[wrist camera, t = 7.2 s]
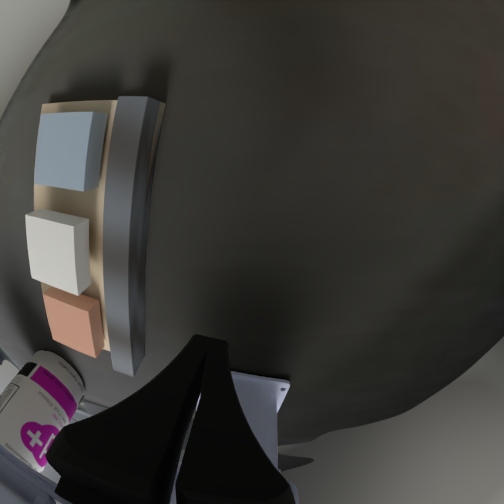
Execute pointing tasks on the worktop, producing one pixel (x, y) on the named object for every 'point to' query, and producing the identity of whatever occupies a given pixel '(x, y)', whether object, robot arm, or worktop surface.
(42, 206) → the keypad base
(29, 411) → the supplement can
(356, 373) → the worktop surface
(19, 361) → the worktop surface
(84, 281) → the key middle
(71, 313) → the key terracotta
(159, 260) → the worktop surface
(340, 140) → the worktop surface
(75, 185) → the key slate
